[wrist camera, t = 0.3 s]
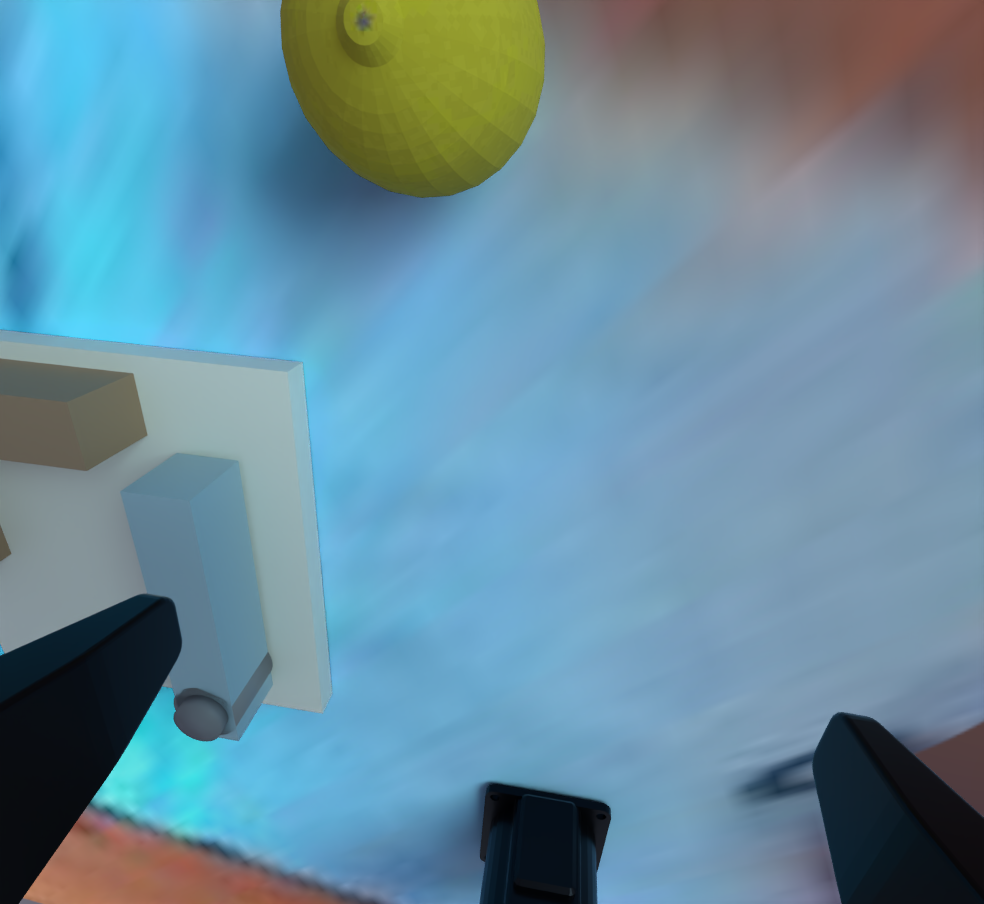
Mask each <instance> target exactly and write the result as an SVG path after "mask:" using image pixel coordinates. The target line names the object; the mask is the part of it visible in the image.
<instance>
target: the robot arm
mask: <svg viewBox="0 0 984 904" xmlns="http://www.w3.org/2000/svg"><path fill="white" fill-rule="evenodd" d="M181 648H182V635H181V631H180V626H179V621H178V616H177V611H176V606H175V603H174V602H173V600H172V599H171V598H169V597H166V596H160V595H154V594H148V593H143V594H139V595H136V596H134V597H131V598H129V599H127V600H125V601H122V602H120V603H118V604H116V605H113V606H111V607H109V608H107V609H104V610H102V611H100V612H98V613H95V614H93V615H91V616H89V617H86V618H84V619H82V620H80V621H77V622H75V623H73V624H71V625H68V626H66V627H64V628H62V629H59V630H57V631H55V632H52V633H50V634H48V635H46V636H43V637H41V638H39V639H37V640H34V641H32V642H30V643H28V644H25V645H23V646H21V647H19V648H16V649H14V650H12V651H10V652H7V653H5V654H3V655H1V656H0V904H19V903H20V901H21V900H22V898H23V897H24V895H25V894H26V893H27V891H28V890H29V888H30V887H31V885H32V884H33V883H34V881H35V880H36V878H37V877H38V876H39V874H40V873H41V871H42V870H43V868H44V867H45V866H46V864H47V863H48V861H49V860H50V858H51V857H52V856H53V854H54V853H55V851H56V850H57V848H58V847H59V846H60V844H61V843H62V841H63V840H64V838H65V837H66V836H67V834H68V833H69V831H70V830H71V829H72V827H73V826H74V824H75V823H76V821H77V820H78V819H79V817H80V816H81V814H82V813H83V811H84V810H85V809H86V807H87V806H88V804H89V803H90V801H91V800H92V799H93V797H94V796H95V794H96V793H97V791H98V790H99V789H100V787H101V786H102V784H103V783H104V782H105V780H106V779H107V777H108V776H109V774H110V773H111V771H112V770H113V768H114V767H115V765H116V764H117V762H118V761H119V759H120V757H121V756H122V754H123V753H124V751H125V749H126V748H127V746H128V744H129V743H130V741H131V739H132V737H133V736H134V734H135V732H136V731H137V729H138V727H139V725H140V724H141V722H142V720H143V718H144V717H145V715H146V713H147V711H148V710H149V708H150V706H151V705H152V703H153V701H154V699H155V698H156V696H157V694H158V692H159V691H160V689H161V687H162V685H163V684H164V682H165V680H166V679H167V677H168V675H169V673H170V672H171V670H172V668H173V666H174V665H175V663H176V661H177V659H178V657H179V655H180V652H181ZM812 767H813V776H814V780H815V785H816V789H817V794H818V799H819V803H820V808H821V813H822V817H823V822H824V826H825V831H826V836H827V840H828V845H829V849H830V854H831V859H832V863H833V868H834V872H835V877H836V882H837V886H838V890H839V894H840V898H841V903H842V904H984V817H983V816H982V815H981V814H980V813H978V812H977V811H976V810H975V809H974V808H973V807H972V806H971V805H969V803H967V802H966V801H965V800H964V799H963V798H962V797H961V796H960V795H958V794H957V793H956V792H955V791H954V790H953V789H952V788H950V786H949V785H947V784H946V783H945V782H944V781H943V780H942V779H941V778H940V777H938V776H937V775H936V774H935V773H934V772H933V771H932V770H931V769H930V768H928V767H927V766H926V765H925V764H924V763H923V762H922V761H921V760H920V759H919V758H917V757H916V756H915V755H914V754H913V753H912V752H911V751H910V750H909V749H907V748H906V747H905V746H904V745H903V744H902V743H901V742H900V741H899V740H898V739H896V738H895V737H894V736H893V735H892V734H891V733H890V732H889V731H888V730H886V729H885V728H884V727H883V726H882V725H881V724H880V723H878V722H877V721H876V720H874V719H873V718H870V717H867V716H861V715H856V714H850V713H844V712H839V713H836V714H835V715H834V716H833V717H832V718H831V720H830V722H829V724H828V726H827V728H826V730H825V732H824V734H823V736H822V738H821V740H820V742H819V744H818V746H817V748H816V750H815V752H814V755H813V762H812ZM610 820H611V810H610V807H609V806H608V805H606V804H604V803H599V802H594V801H588V800H582V799H577V798H571V797H565V796H560V795H554V794H549V793H543V792H537V791H532V790H526V789H520V788H515V787H509V786H503V785H498V784H491V785H489V786H488V787H487V790H486V796H485V807H484V818H483V828H482V839H481V850H480V859H481V860H482V861H484V862H485V867H484V875H483V882H482V889H481V896H480V904H597V870H598V867H599V863H600V859H601V855H602V851H603V847H604V843H605V840H606V836H607V832H608V828H609V824H610Z"/></svg>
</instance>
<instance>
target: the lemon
mask: <svg viewBox="0 0 984 904" xmlns="http://www.w3.org/2000/svg"><path fill="white" fill-rule="evenodd" d="M280 14H281V38H282V50H283V54H284V59H285V63H286V67H287V71H288V76H289V80H290V83H291V87H292V89H293V91H294V93H295V95H296V98H297V100H298V102H299V104H300V106H301V109H302V111H303V113H304V115H305V117H306V119H307V120H308V122H309V123H310V124H311V126H312V127H313V129H314V130H315V131H316V133H317V134H318V135H319V137H320V138H321V139H322V141H323V142H324V143H325V145H326V146H327V148H328V149H329V150H330V151H331V152H332V153H333V154H334V155H336V156H337V157H338V158H339V159H340V160H341V161H342V162H344V163H345V164H346V165H347V166H348V167H349V168H350V169H352V170H353V171H354V172H355V173H356V174H358V175H359V176H361V177H363V178H365V179H367V180H368V181H370V182H372V183H374V184H376V185H378V186H380V187H382V188H384V189H386V190H388V191H391V192H396V193H400V194H405V195H410V196H415V197H421V198H425V197H439V196H450V195H454V194H456V193H459V192H462V191H465V190H467V189H470V188H473V187H475V186H478V185H480V184H481V183H482V182H484V181H485V180H486V179H488V178H489V177H491V176H492V175H493V174H495V173H496V172H497V171H499V170H500V169H501V168H502V167H503V166H504V165H505V164H506V162H507V161H508V160H509V159H510V158H511V156H512V155H513V154H514V153H515V152H516V150H517V149H518V148H519V147H520V146H521V144H522V142H523V140H524V138H525V136H526V134H527V132H528V130H529V128H530V126H531V124H532V122H533V120H534V118H535V116H536V112H537V108H538V103H539V99H540V95H541V91H542V87H543V83H544V59H545V41H544V36H543V30H542V25H541V19H540V14H539V8H538V3H537V0H282V4H281V11H280Z"/></svg>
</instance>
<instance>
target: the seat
mask: <svg viewBox="0 0 984 904" xmlns="http://www.w3.org/2000/svg"><path fill="white" fill-rule="evenodd" d="M176 453H182V454H190V455H198V456H205V457H213V458H221V459H229V460H237V461H238V462H239V468H240V475H241V481H242V488H243V494H244V501H245V507H246V514H247V520H248V526H249V533H250V539H251V546H252V552H253V559H254V565H255V572H256V578H257V585H258V591H259V598H260V604H261V610H262V617H263V623H264V630H265V636H266V643H267V649H268V653H269V654H270V656H271V658H272V662H273V667H272V671H271V675H272V682H273V686H272V687H271V689H270V691H269V692H268V694H267V696H266V697H265V699H264V700H263V702H262V703H263V704H269V705H275V706H281V707H287V708H293V709H299V710H305V711H311V712H316V713H322V714H323V712H324V710H325V708H326V706H327V704H328V701H329V699H330V697H331V695H332V684H331V673H330V662H329V651H328V640H327V629H326V617H325V606H324V595H323V584H322V573H321V562H320V551H319V539H318V528H317V517H316V506H315V495H314V484H313V473H312V461H311V450H310V439H309V428H308V417H307V406H306V395H305V383H304V372H303V362H296V361H287V360H278V359H268V358H259V357H250V356H240V355H231V354H222V353H212V352H203V351H194V350H184V349H175V348H166V347H156V346H147V345H137V344H128V343H119V342H109V341H100V340H91V339H81V338H72V337H63V336H53V335H44V334H35V333H25V332H16V331H6V330H0V644H1V646H2V649H3V651H4V653H7V652H10V651H12V650H14V649H16V648H19V647H21V646H23V645H25V644H28V643H30V642H32V641H34V640H37V639H39V638H41V637H43V636H46V635H48V634H50V633H52V632H55V631H57V630H59V629H62V628H64V627H66V626H68V625H71V624H73V623H75V622H77V621H80V620H82V619H84V618H86V617H89V616H91V615H93V614H95V613H98V612H100V611H102V610H104V609H107V608H109V607H111V606H113V605H116V604H118V603H120V602H122V601H125V600H127V599H129V598H131V597H134V596H136V595H139V594H143V593H147V590H146V587H145V583H144V579H143V575H142V572H141V568H140V564H139V560H138V557H137V553H136V549H135V545H134V542H133V538H132V534H131V531H130V527H129V523H128V519H127V516H126V512H125V508H124V504H123V501H122V497H121V493H120V491H121V490H123V489H124V488H126V487H127V486H129V485H130V484H132V483H133V482H135V481H136V480H138V479H139V478H141V477H142V476H144V475H145V474H147V473H148V472H150V471H151V470H152V469H154V468H155V467H157V466H158V465H160V464H161V463H163V462H164V461H166V460H167V459H169V458H170V457H172V456H173V455H175V454H176ZM162 686H163V687H169V688H172V684H171V680H170V676H169V675H168V677H167V679H166V680H165V682H164V684H163V685H162ZM160 690H161V689H160Z"/></svg>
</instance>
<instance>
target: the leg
mask: <svg viewBox="0 0 984 904" xmlns="http://www.w3.org/2000/svg"><path fill="white" fill-rule="evenodd" d="M120 493H121V497H122V501H123V504H124V508H125V512H126V516H127V519H128V523H129V527H130V531H131V534H132V538H133V542H134V545H135V549H136V553H137V557H138V560H139V564H140V568H141V572H142V575H143V579H144V583H145V587H146V590H147V593H148V594H154V595H160V596H166V597H169V598H171V599H172V600H173V602H174V603H175V606H176V611H177V616H178V621H179V626H180V631H181V635H182V648H181V652H180V655H179V657H178V659H177V661H176V663H175V665H174V666H173V668H172V670H171V672H170V673H169V676H170V680H171V684H172V688H173V691H174V695H175V698H174V707H175V710H176V712H175V713H174V722H175V724H176V726H177V727H178V728H179V729H180V730H181V731H182V732H183V733H184V734H186V735H187V736H189V737H191V738H193V739H196V740H200V741H212V740H215V739H217V738H218V737H219V738H225V739H230V740H236V741H239V740H240V738H241V737H242V735H243V733H244V732H245V730H246V728H247V727H248V725H249V724H250V722H251V720H252V719H253V717H254V715H255V714H256V712H257V710H258V709H259V707H260V705H261V704H262V702H263V700H264V699H265V697H266V696H267V694H268V692H269V691H270V689H271V687H272V686H273V682H272V675H271V671H272V667H273V662H272V658H271V656H270V654H269V653H268V649H267V643H266V636H265V630H264V623H263V617H262V610H261V604H260V598H259V591H258V585H257V578H256V572H255V565H254V559H253V552H252V546H251V539H250V533H249V526H248V520H247V514H246V507H245V501H244V494H243V488H242V481H241V475H240V468H239V462H238V461H237V460H229V459H221V458H213V457H205V456H198V455H190V454H182V453H176V454H175V455H173V456H172V457H170V458H169V459H167V460H166V461H164V462H163V463H161V464H160V465H158V466H157V467H155V468H154V469H152V470H151V471H150V472H148V473H147V474H145V475H144V476H142V477H141V478H139V479H138V480H136V481H135V482H133V483H132V484H130V485H129V486H127V487H126V488H124V489H123V490H121V491H120Z"/></svg>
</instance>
